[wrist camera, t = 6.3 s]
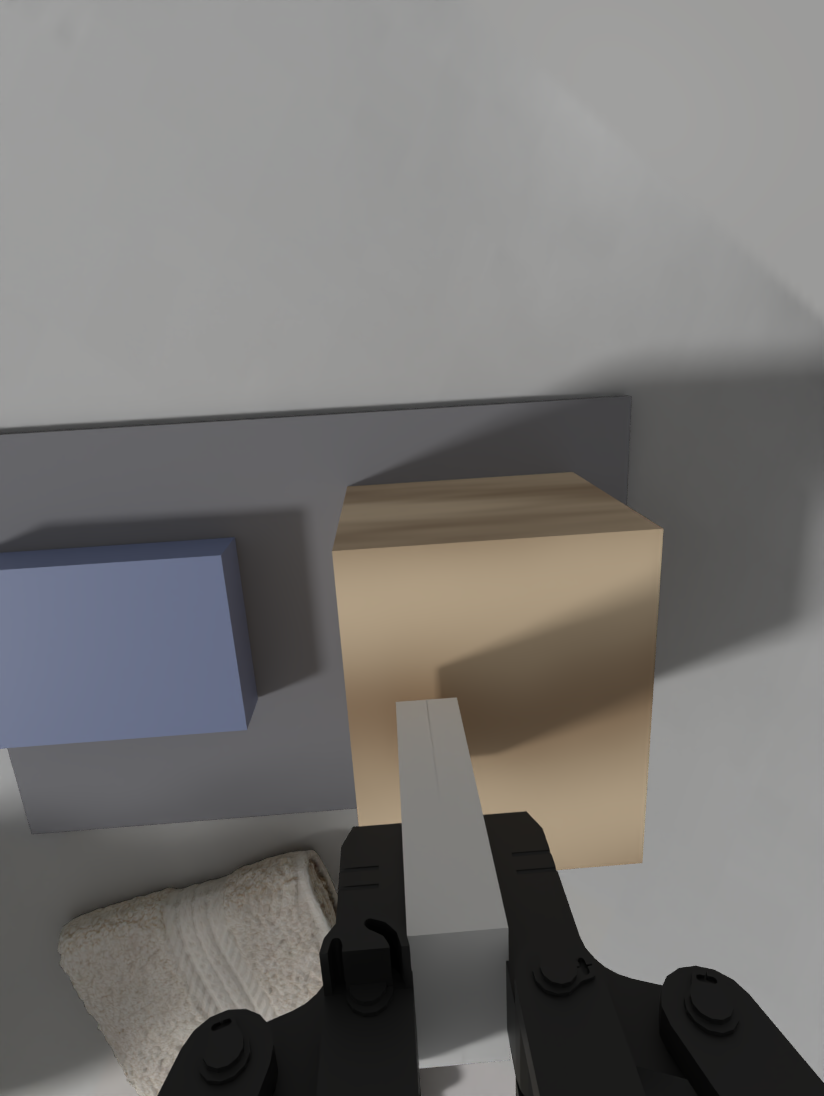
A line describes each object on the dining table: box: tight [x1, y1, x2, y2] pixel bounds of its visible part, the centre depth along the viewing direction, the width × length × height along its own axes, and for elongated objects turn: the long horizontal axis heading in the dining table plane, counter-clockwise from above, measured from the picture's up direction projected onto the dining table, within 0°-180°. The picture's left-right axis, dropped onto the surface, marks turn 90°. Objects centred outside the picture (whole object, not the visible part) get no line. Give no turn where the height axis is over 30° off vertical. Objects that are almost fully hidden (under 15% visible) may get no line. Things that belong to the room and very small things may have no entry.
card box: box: [0, 537, 258, 749], centre depth 23 cm, size 6×9×2 cm
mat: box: [0, 396, 632, 834], centre depth 24 cm, size 16×24×1 cm, turn 93°
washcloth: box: [58, 850, 338, 1096], centre depth 29 cm, size 12×18×3 cm, turn 18°
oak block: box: [332, 472, 663, 870], centre depth 21 cm, size 10×8×8 cm
